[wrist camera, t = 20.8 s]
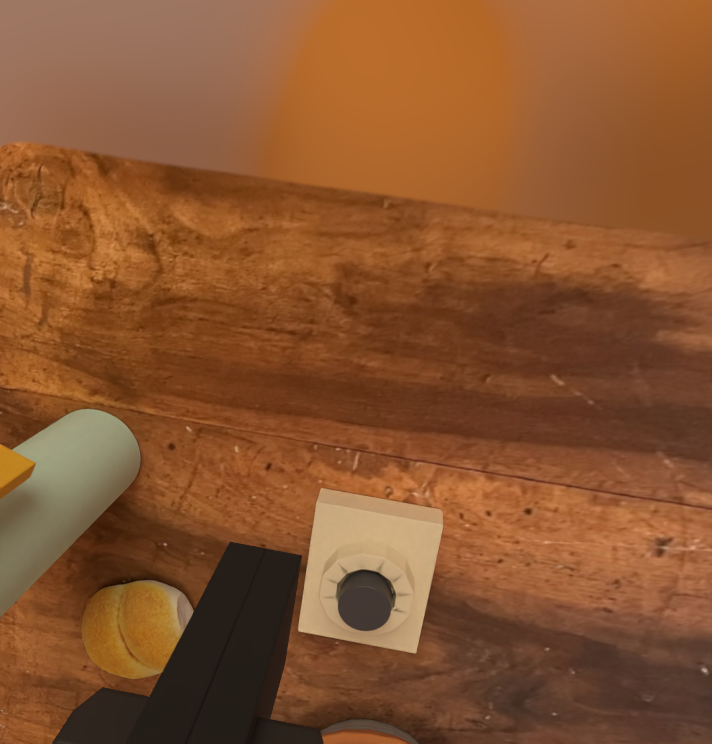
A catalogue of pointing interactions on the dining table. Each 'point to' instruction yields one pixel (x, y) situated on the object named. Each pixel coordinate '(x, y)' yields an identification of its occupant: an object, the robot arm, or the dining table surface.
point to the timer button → (365, 601)
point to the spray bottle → (62, 494)
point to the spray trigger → (13, 470)
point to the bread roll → (135, 627)
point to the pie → (365, 733)
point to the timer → (370, 564)
